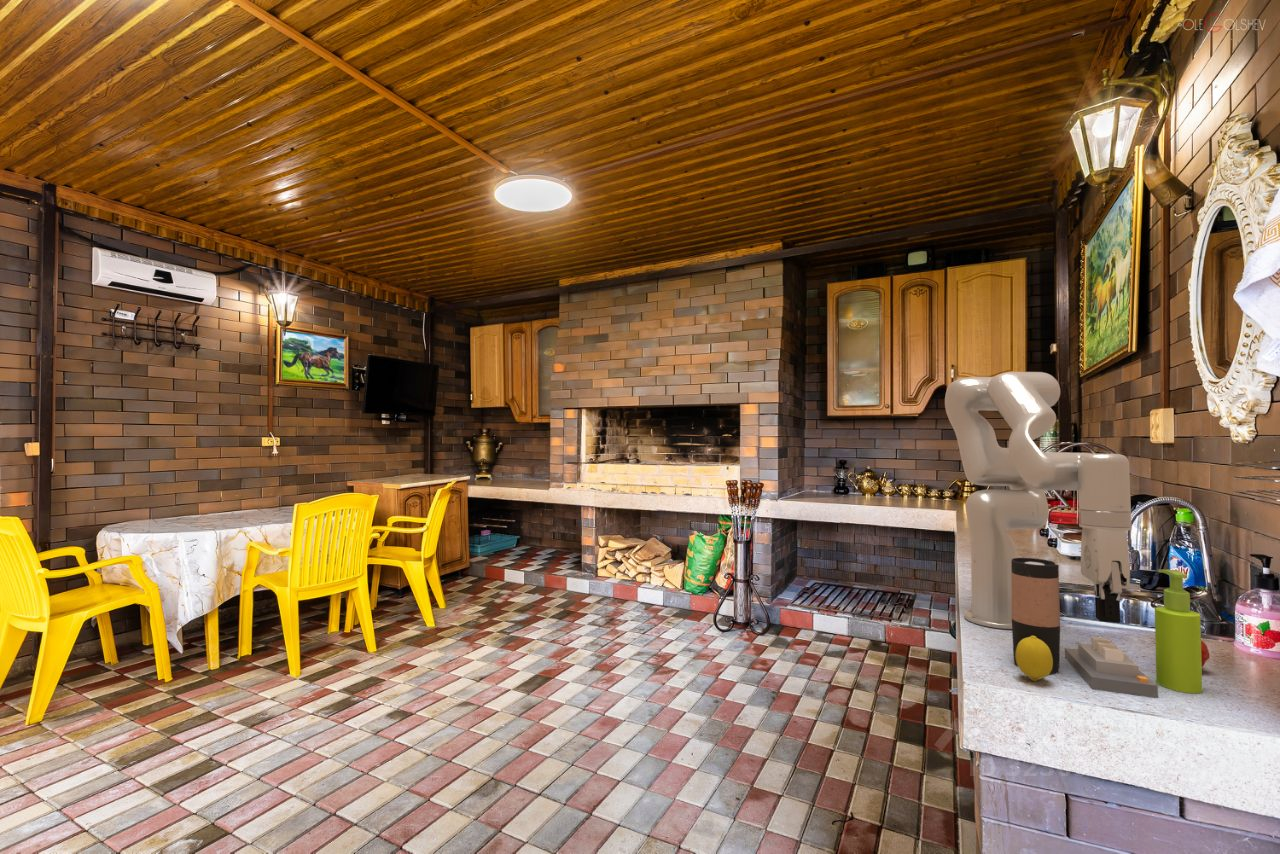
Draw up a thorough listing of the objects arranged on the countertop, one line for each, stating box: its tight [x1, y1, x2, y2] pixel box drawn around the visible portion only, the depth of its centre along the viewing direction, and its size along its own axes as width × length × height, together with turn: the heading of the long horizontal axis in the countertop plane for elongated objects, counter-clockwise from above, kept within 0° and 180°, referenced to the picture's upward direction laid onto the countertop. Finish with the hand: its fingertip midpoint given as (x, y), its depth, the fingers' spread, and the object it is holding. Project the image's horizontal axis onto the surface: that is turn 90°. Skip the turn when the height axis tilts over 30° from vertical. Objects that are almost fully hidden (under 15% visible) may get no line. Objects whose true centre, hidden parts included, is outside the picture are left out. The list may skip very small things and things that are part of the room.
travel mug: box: [1011, 557, 1061, 675], centre depth 110 cm, size 8×8×20 cm
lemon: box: [1015, 636, 1053, 682], centre depth 103 cm, size 6×6×8 cm
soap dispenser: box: [1154, 568, 1203, 694], centre depth 102 cm, size 6×7×20 cm
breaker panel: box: [1063, 636, 1159, 699], centre depth 105 cm, size 16×9×6 cm, turn 157°
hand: (1107, 620), depth 105 cm, fingers closed
